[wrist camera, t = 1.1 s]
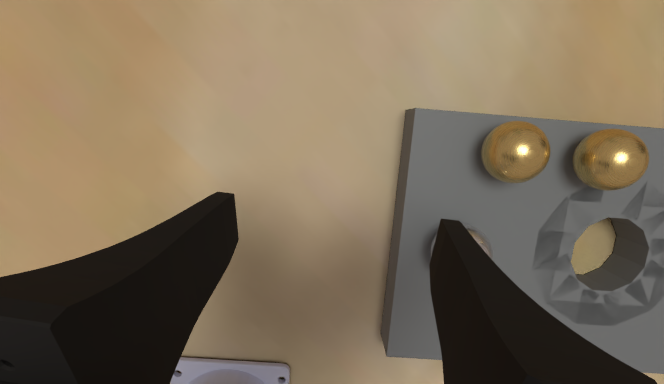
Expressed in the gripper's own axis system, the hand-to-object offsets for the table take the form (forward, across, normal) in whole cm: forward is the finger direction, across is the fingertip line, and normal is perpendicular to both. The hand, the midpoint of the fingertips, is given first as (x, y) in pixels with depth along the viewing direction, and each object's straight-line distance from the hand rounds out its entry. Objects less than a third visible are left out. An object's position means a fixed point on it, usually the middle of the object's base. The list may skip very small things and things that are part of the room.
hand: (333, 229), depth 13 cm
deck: (+10, -12, +7) cm, 17 cm away
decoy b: (+9, -13, 0) cm, 16 cm away
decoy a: (+8, -8, 0) cm, 12 cm away
